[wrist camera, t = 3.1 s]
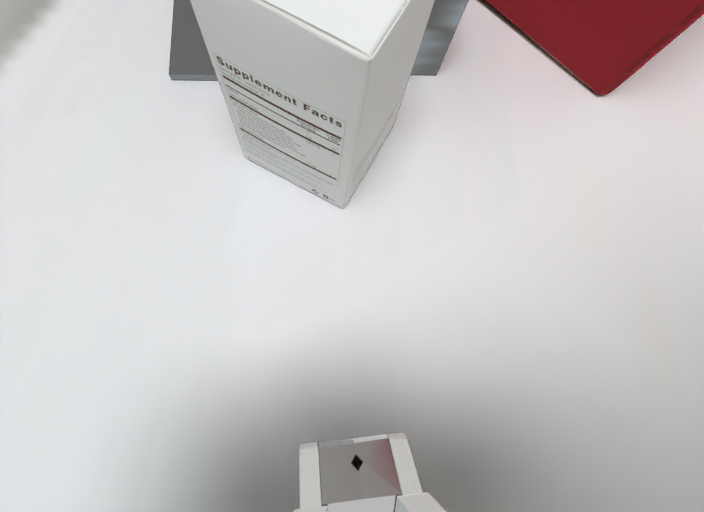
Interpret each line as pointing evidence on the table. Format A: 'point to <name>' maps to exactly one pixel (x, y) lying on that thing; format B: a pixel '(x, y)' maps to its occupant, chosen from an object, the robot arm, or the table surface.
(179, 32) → the bookend
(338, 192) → the supplement box
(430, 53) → the shelf bay
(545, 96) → the table surface
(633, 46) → the storage cube
